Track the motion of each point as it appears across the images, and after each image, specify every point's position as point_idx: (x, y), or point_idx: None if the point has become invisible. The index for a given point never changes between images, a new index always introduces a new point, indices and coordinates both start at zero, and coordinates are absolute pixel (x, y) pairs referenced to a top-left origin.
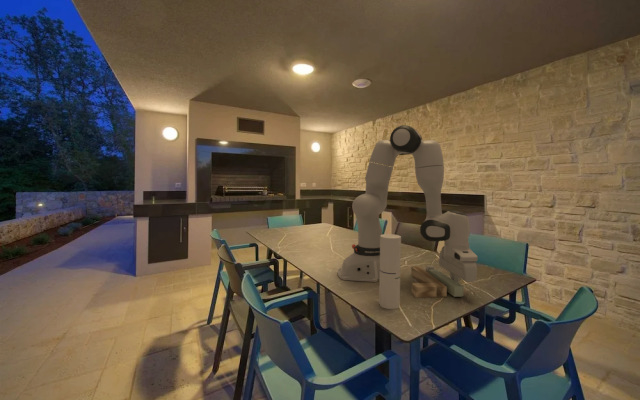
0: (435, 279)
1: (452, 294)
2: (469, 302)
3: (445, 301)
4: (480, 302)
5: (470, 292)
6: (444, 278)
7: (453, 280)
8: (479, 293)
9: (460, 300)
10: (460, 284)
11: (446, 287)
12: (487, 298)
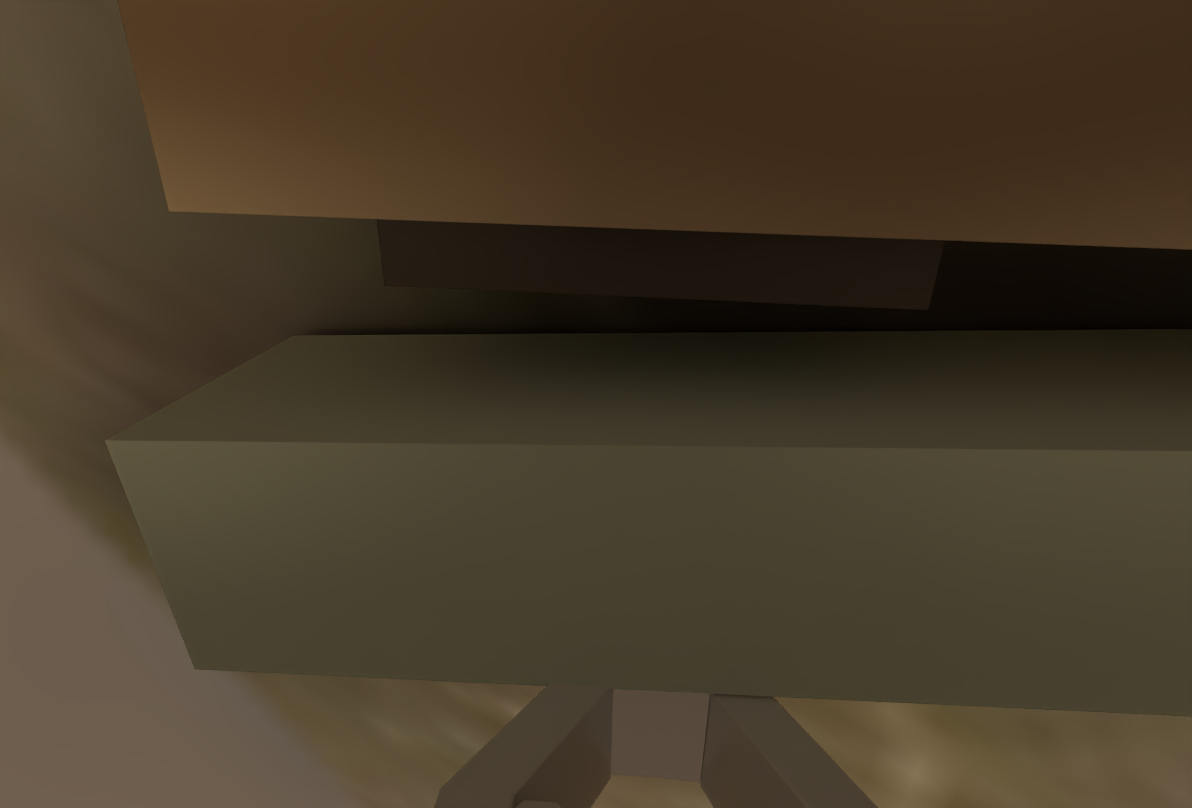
0: (927, 160)
1: (353, 342)
2: None
3: (98, 10)
4: None
5: None
6: (833, 523)
7: (617, 676)
8: None
9: None
10: (308, 671)
11: (180, 193)
12: (358, 781)
